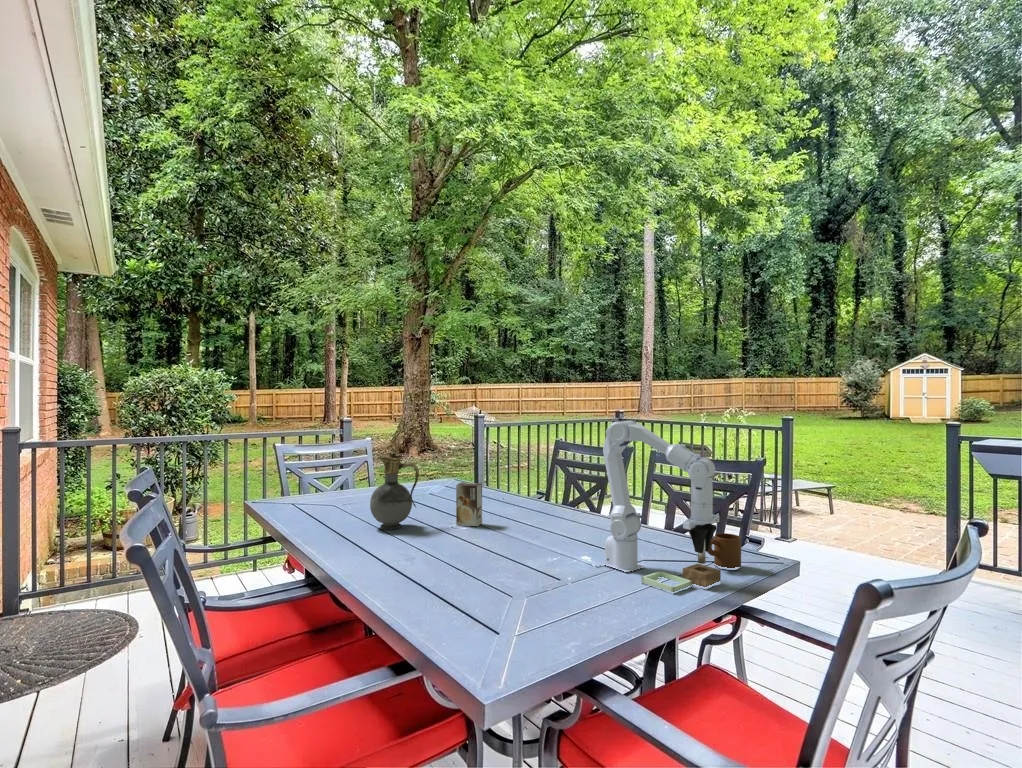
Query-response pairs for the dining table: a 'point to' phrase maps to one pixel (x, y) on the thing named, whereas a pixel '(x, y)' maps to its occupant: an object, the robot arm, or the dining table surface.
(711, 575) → the walnut block
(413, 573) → the dining table surface
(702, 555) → the pin
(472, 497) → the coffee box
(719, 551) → the mug
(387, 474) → the pitcher
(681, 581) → the tray
